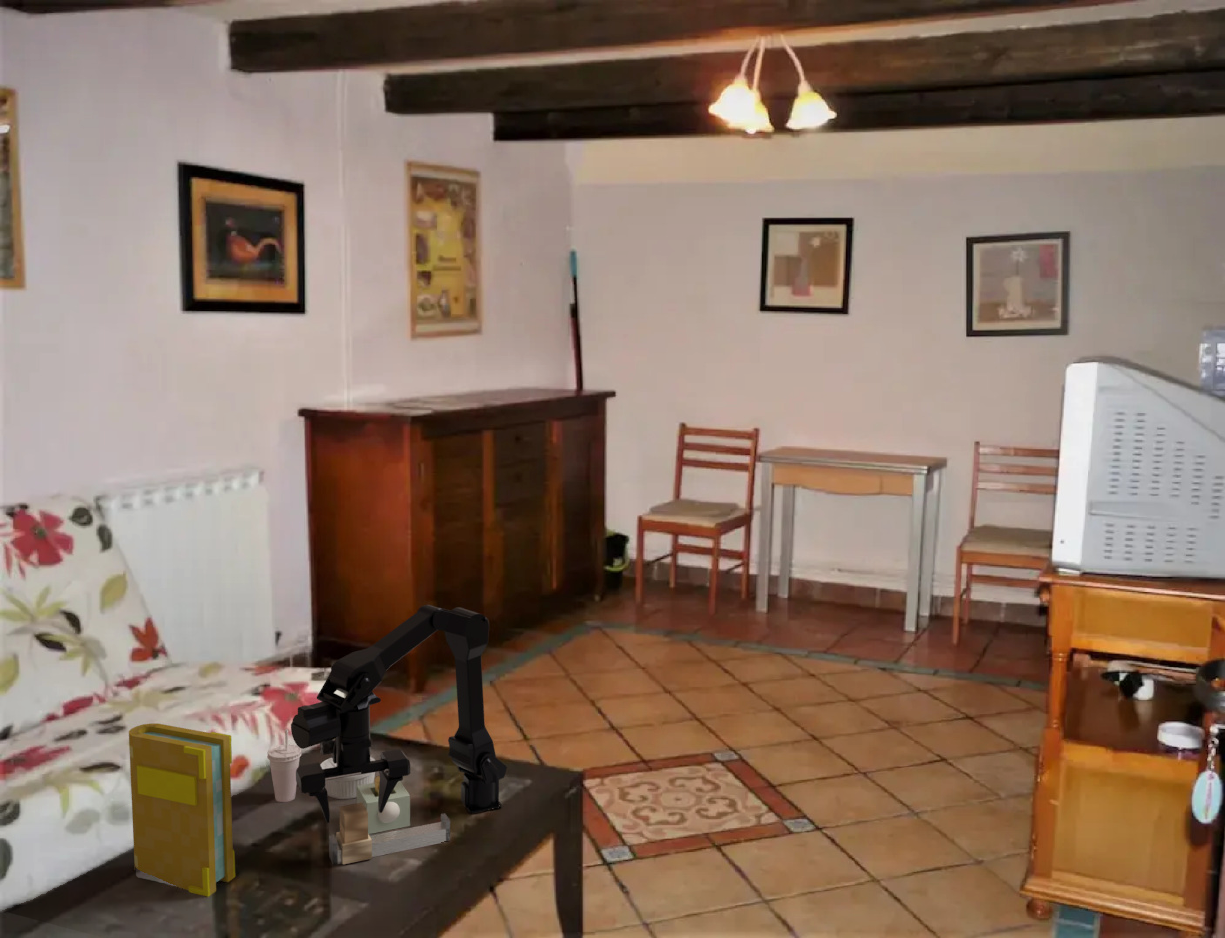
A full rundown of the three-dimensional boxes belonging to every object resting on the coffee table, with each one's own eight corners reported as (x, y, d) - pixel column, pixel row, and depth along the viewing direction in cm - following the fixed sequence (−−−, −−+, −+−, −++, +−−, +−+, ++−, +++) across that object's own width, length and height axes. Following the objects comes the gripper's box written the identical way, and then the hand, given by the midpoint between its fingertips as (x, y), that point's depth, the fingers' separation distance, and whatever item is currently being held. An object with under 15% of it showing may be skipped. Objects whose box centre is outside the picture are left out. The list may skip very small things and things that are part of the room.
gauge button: (389, 794, 203) (388, 773, 202) (393, 800, 200) (393, 779, 199) (373, 797, 201) (373, 776, 201) (377, 803, 199) (377, 782, 198)
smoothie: (292, 806, 206) (290, 737, 204) (261, 803, 207) (260, 734, 205) (308, 792, 212) (307, 725, 210) (278, 788, 213) (277, 721, 211)
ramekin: (307, 796, 211) (307, 770, 210) (340, 773, 221) (340, 749, 220) (356, 806, 207) (355, 780, 206) (387, 783, 217) (387, 758, 217)
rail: (445, 833, 197) (445, 813, 196) (450, 841, 194) (450, 820, 194) (329, 857, 188) (329, 835, 187) (332, 865, 185) (332, 843, 184)
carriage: (364, 845, 191) (364, 800, 190) (371, 858, 187) (371, 812, 186) (336, 850, 189) (335, 805, 188) (343, 864, 185) (342, 818, 183)
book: (235, 876, 180) (231, 735, 177) (208, 896, 174) (203, 750, 170) (154, 857, 186) (148, 720, 182) (125, 876, 180) (118, 734, 176)
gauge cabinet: (398, 807, 207) (398, 778, 206) (410, 826, 199) (410, 795, 198) (357, 815, 203) (356, 785, 202) (367, 834, 196) (367, 803, 195)
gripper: (394, 707, 196) (394, 788, 198) (289, 723, 188) (291, 807, 190) (410, 729, 186) (411, 814, 188) (300, 747, 178) (302, 835, 180)
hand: (354, 816), depth 187 cm, fingers open, 9 cm apart
